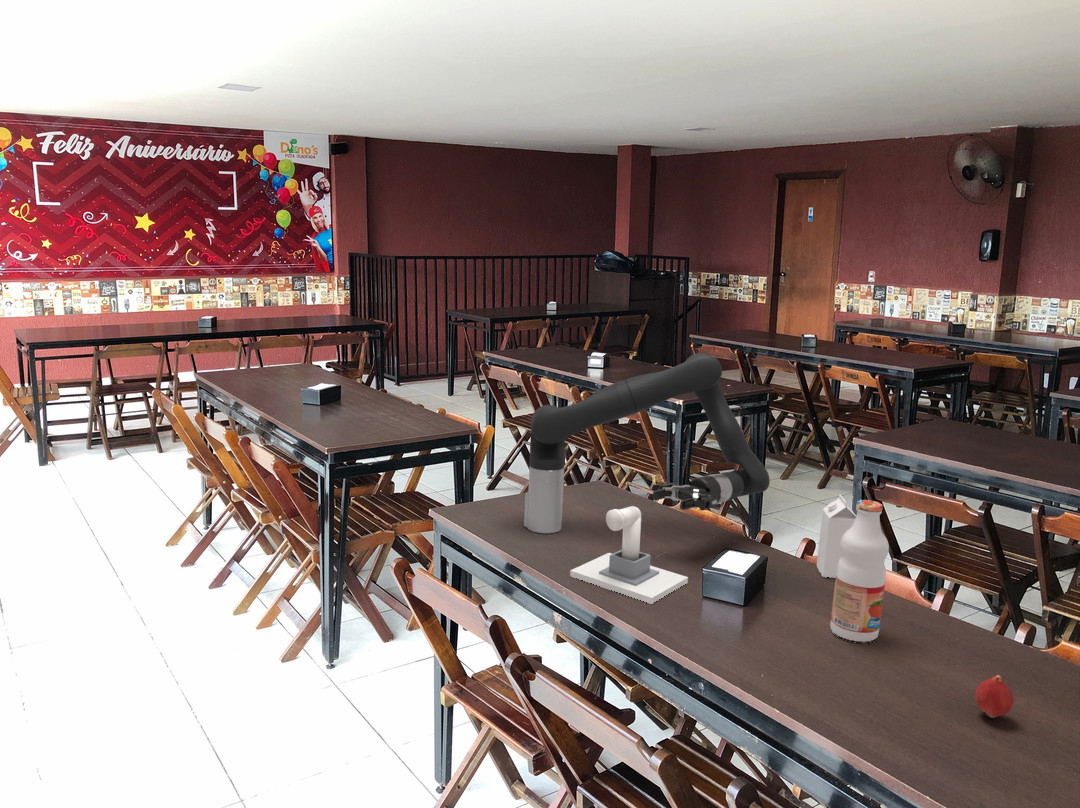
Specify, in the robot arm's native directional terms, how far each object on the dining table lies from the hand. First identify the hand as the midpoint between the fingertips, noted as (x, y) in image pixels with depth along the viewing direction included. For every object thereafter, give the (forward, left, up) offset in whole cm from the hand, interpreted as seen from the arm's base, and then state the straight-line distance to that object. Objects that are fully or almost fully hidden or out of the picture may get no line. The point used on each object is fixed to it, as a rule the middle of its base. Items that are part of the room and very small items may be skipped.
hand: (667, 500), depth 207 cm
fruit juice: (+47, -3, -17) cm, 50 cm away
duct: (-2, -12, -17) cm, 21 cm away
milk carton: (+32, +27, -17) cm, 45 cm away
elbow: (-2, -14, -15) cm, 20 cm away
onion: (+76, -19, -17) cm, 80 cm away
